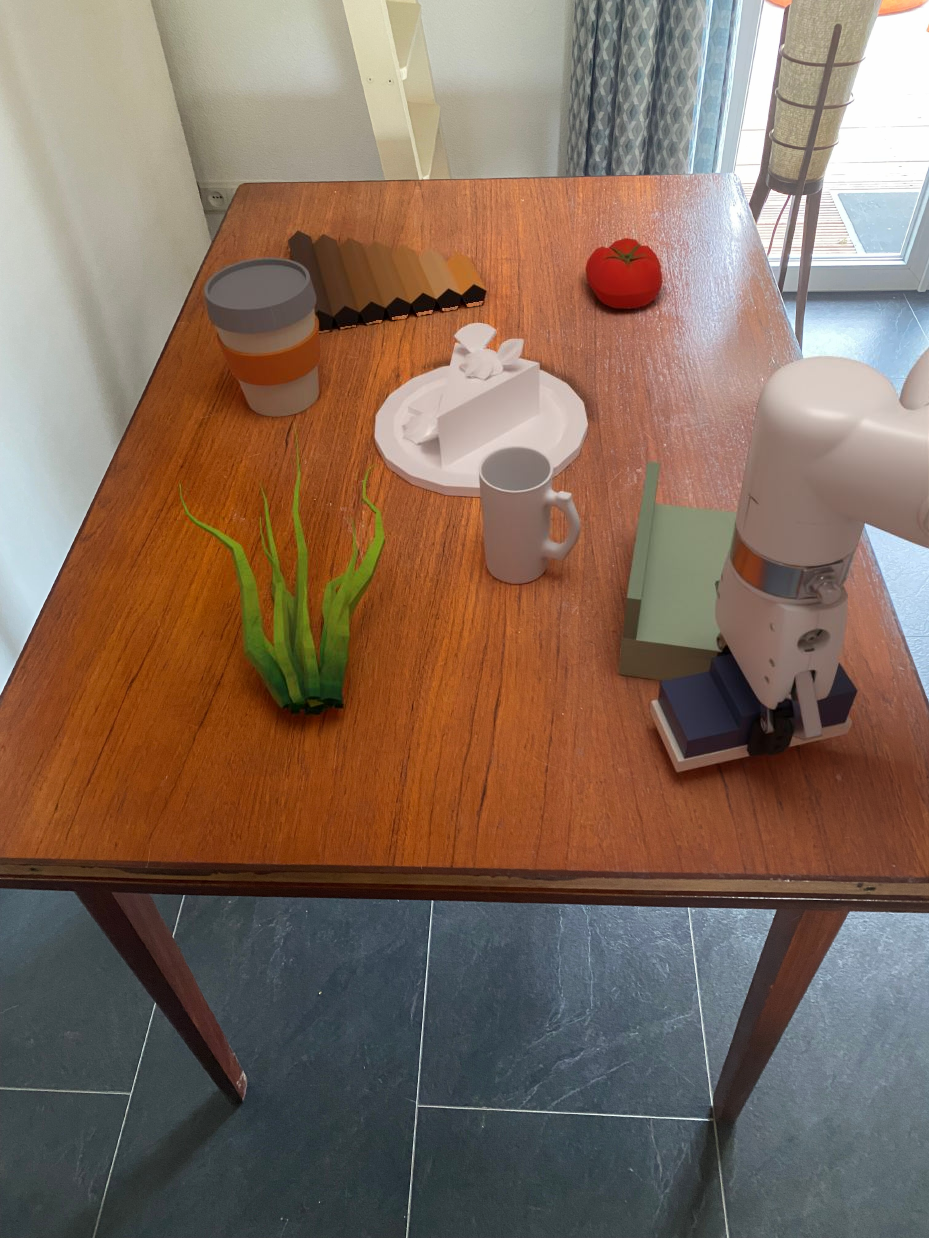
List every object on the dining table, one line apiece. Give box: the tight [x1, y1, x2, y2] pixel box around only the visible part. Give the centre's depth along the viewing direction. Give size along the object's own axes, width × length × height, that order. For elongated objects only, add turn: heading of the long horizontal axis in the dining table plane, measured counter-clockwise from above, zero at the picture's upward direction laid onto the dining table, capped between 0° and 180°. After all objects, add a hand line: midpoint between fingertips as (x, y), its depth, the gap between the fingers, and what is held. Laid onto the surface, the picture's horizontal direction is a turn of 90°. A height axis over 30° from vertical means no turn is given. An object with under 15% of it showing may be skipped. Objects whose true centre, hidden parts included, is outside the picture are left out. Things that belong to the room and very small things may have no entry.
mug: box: [479, 446, 582, 585], centre depth 86 cm, size 10×7×12 cm, turn 59°
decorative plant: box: [178, 422, 386, 716], centre depth 84 cm, size 18×30×15 cm, turn 169°
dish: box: [374, 322, 589, 498], centre depth 103 cm, size 25×25×11 cm
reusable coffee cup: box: [203, 257, 321, 418], centre depth 108 cm, size 13×13×15 cm
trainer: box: [649, 654, 859, 773], centre depth 70 cm, size 14×6×6 cm, turn 102°
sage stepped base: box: [617, 461, 737, 682], centre depth 82 cm, size 12×18×10 cm, turn 167°
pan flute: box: [287, 230, 488, 331], centre depth 132 cm, size 25×3×25 cm
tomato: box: [584, 237, 663, 310], centre depth 123 cm, size 10×11×6 cm
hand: (748, 714), depth 71 cm, fingers closed on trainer, 6 cm apart
